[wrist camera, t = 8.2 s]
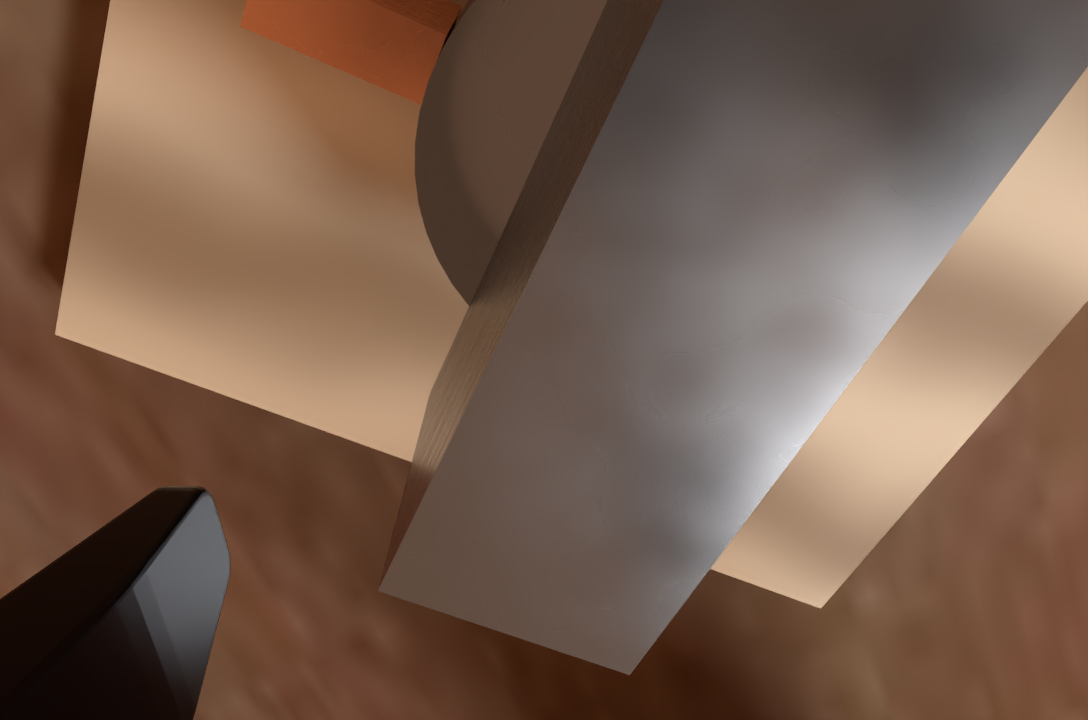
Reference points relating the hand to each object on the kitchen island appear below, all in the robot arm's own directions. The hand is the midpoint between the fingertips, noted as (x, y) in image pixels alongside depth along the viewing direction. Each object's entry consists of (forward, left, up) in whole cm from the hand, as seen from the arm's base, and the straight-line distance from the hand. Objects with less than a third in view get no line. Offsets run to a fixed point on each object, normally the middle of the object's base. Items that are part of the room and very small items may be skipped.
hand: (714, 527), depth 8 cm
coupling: (0, +1, -11) cm, 11 cm away
